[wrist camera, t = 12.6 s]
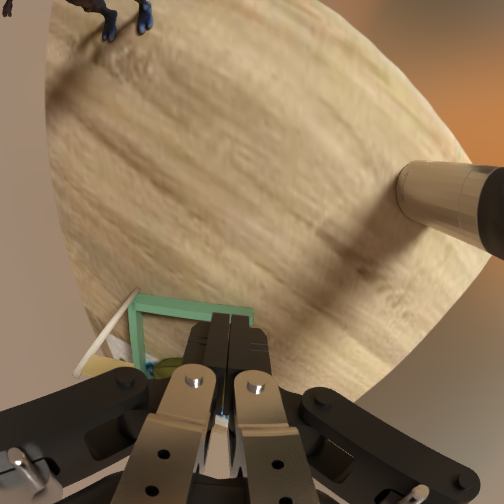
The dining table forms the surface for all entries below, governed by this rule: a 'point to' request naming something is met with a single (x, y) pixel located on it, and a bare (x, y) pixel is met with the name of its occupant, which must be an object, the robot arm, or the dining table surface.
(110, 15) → the figurine
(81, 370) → the mint frame with pennant
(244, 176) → the dining table surface
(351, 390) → the dining table surface
